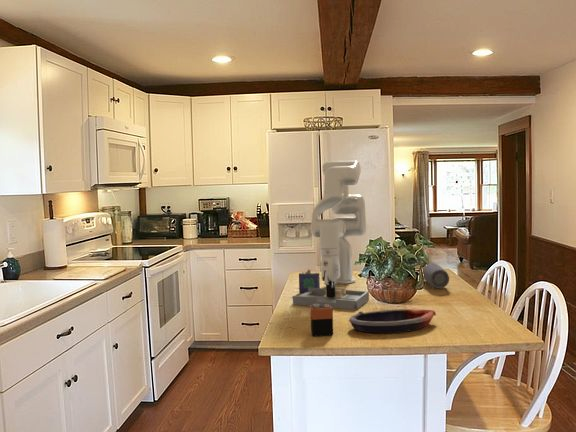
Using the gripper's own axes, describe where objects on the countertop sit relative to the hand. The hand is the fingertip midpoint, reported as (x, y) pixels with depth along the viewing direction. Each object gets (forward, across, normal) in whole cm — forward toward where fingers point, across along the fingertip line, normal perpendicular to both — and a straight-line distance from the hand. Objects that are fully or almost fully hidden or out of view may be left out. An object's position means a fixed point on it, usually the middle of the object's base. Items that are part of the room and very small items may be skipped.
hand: (330, 296), depth 205 cm
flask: (+3, +15, +16) cm, 22 cm away
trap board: (+3, +2, +1) cm, 4 cm away
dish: (+3, -23, -31) cm, 39 cm away
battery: (+3, -38, -11) cm, 40 cm away
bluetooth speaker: (+3, +45, -33) cm, 56 cm away
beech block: (+1, +5, 0) cm, 5 cm away
